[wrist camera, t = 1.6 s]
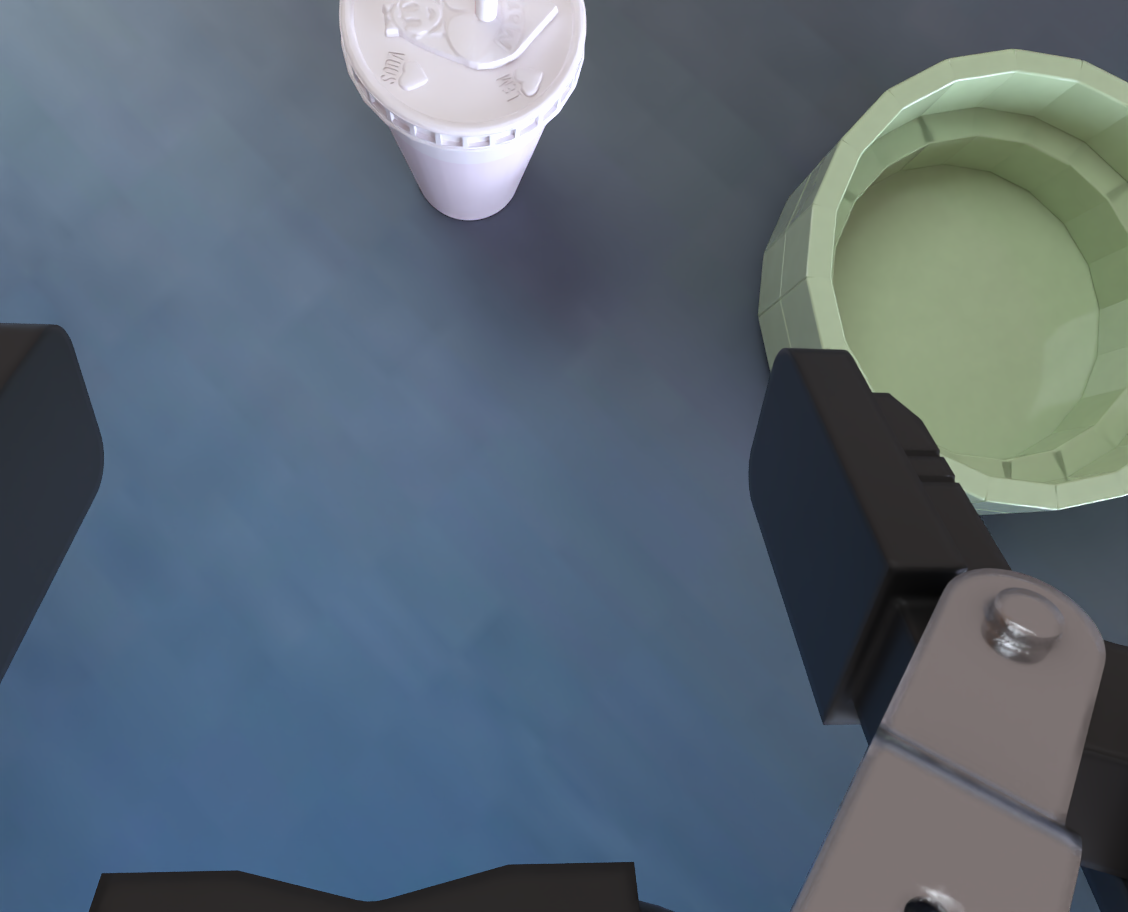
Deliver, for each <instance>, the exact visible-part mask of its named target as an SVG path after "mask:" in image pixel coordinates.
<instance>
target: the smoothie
mask: <svg viewBox="0 0 1128 912" xmlns="http://www.w3.org/2000/svg"><path fill="white" fill-rule="evenodd" d="M339 23H340V31H341V45H342V49H343V53H344V57H345V61H346V66H347V70H348V73H349V75H350V77H351V79H352V81H353V82H354V84H355V86H356V88H357V90H358V91H359V93H360V95H361V97H362V99H363V100H364V102H365V103H366V104H367V105H368V106H369V107H370V108H371V109H372V110H373V111H374V112H375V113H376V114H377V115H378V116H379V117H380V118H381V119H382V120H383V121H384V122H385V123H386V124H387V125H388V126H389V128H390V130H391V132H392V134H393V136H394V138H395V140H396V142H397V144H398V146H399V148H400V150H401V152H402V154H403V156H404V158H405V160H406V162H407V164H408V166H409V168H410V170H411V172H412V174H413V176H414V177H415V179H416V181H417V183H418V185H419V187H420V189H421V191H422V193H423V195H424V196H425V198H426V199H427V201H428V202H429V203H430V204H431V205H432V206H433V207H434V208H435V209H437V210H438V211H440V212H441V213H443V214H445V215H447V216H449V217H452V218H456V219H460V220H479V219H483V218H486V217H489V216H491V215H493V214H495V213H497V212H498V211H500V210H501V209H502V208H504V207H505V206H506V205H507V204H508V203H509V201H510V200H511V199H512V197H513V195H514V193H515V191H516V189H517V187H518V185H519V182H520V180H521V178H522V176H523V174H524V171H525V169H526V167H527V165H528V163H529V160H530V158H531V156H532V154H533V152H534V149H535V147H536V145H537V143H538V141H539V138H540V136H541V134H542V132H543V130H544V127H545V125H546V124H547V123H548V122H549V121H550V120H551V119H552V118H554V117H555V116H556V115H557V114H558V113H559V112H560V111H561V109H562V107H563V106H564V104H565V103H566V101H567V100H568V98H569V96H570V95H571V93H572V92H573V90H574V89H575V87H576V84H577V80H578V77H579V74H580V70H581V67H582V63H583V60H584V45H585V38H586V10H585V5H584V0H340V6H339Z"/></svg>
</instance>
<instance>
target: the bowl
mask: <svg viewBox="0 0 1128 912" xmlns="http://www.w3.org/2000/svg"><path fill="white" fill-rule="evenodd" d="M758 316H759V323H760V327H761V332H762V336H763V341H764V345H765V350H766V354H767V359H768V363H769V368H770V372H771V370H772V366H773V363H774V360H775V357H776V355H777V354H778V352H779V351H780V350H781V349H782V348H809V349H844V350H847V351H848V352H849V353H850V354H851V355H852V357H853V358H854V360H855V362H856V364H857V366H858V368H859V369H860V371H861V373H862V375H863V377H864V378H865V380H866V382H867V384H868V386H869V388H870V389H871V391H872V392H878V393H890V394H891V395H892V396H893V397H895V398H896V399H897V400H898V401H899V402H901V403H902V404H903V405H904V406H905V407H907V408H908V409H909V410H910V411H912V412H913V413H914V414H915V415H916V416H918V417H919V418H920V419H921V420H922V421H923V423H924V424H925V426H926V428H927V429H928V431H929V433H930V434H931V436H932V438H933V439H934V441H935V443H936V444H937V446H938V448H939V449H940V457H944V458H945V460H946V461H947V463H948V465H949V466H950V468H951V470H952V471H953V473H954V475H955V482H956V483H960V485H961V486H962V488H963V490H964V491H965V493H966V495H967V496H968V498H969V500H970V501H971V503H972V505H973V506H974V508H975V510H976V511H977V513H978V515H989V514H1005V513H1023V512H1039V511H1055V510H1062V509H1067V508H1071V507H1076V506H1081V505H1086V504H1090V503H1095V502H1100V501H1104V500H1109V499H1114V498H1119V497H1123V496H1125V495H1128V82H1126V81H1124V80H1122V79H1120V78H1118V77H1116V76H1114V75H1112V74H1110V73H1108V72H1106V71H1104V70H1102V69H1100V68H1098V67H1096V66H1094V65H1092V64H1090V63H1088V62H1086V61H1081V60H1080V59H1074V58H1068V57H1062V56H1056V55H1050V54H1044V53H1038V52H1032V51H1026V50H1020V49H1007V50H1001V51H994V52H987V53H981V54H974V55H967V56H961V57H954V58H948V59H946V60H943V61H941V62H939V63H937V64H935V65H933V66H932V67H930V68H928V69H926V70H924V71H922V72H920V73H918V74H916V75H914V76H912V77H911V78H909V79H907V80H905V81H903V82H901V83H899V84H897V85H895V86H893V87H891V88H889V89H888V90H887V91H885V92H884V93H883V94H882V95H881V96H880V98H879V99H878V100H877V101H876V102H875V103H874V104H873V105H872V106H871V107H870V108H869V109H868V110H867V111H866V113H865V114H864V115H863V116H862V117H861V118H860V119H859V120H858V121H857V122H856V123H855V124H854V125H853V127H852V128H851V129H850V130H849V131H848V132H847V133H846V134H845V135H844V136H843V137H842V138H841V139H840V141H839V142H838V143H837V144H836V145H835V146H834V147H833V148H832V150H831V151H830V152H829V153H828V154H827V155H826V156H825V157H824V159H823V160H822V161H821V162H820V163H819V164H818V165H817V166H816V167H815V169H814V170H813V171H812V172H811V173H810V174H809V175H808V176H807V178H806V179H805V180H804V181H803V182H802V183H801V184H800V185H799V187H798V188H797V189H796V190H795V191H794V192H793V193H792V194H791V196H790V197H789V198H788V200H787V202H786V204H785V207H784V209H783V211H782V213H781V216H780V218H779V220H778V222H777V225H776V227H775V229H774V231H773V234H772V236H771V238H770V240H769V243H768V245H767V247H766V249H765V252H764V255H763V266H762V276H761V287H760V298H759V308H758Z"/></svg>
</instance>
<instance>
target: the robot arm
mask: <svg viewBox="0 0 1128 912" xmlns="http://www.w3.org/2000/svg"><path fill="white" fill-rule="evenodd" d="M103 466H104V450H103V442H102V437H101V434H100V430H99V427H98V424H97V421H96V418H95V414H94V411H93V408H92V405H91V402H90V398H89V395H88V392H87V389H86V386H85V382H84V379H83V376H82V373H81V370H80V366H79V363H78V360H77V357H76V354H75V350H74V347H73V344H72V342H71V339H70V338H69V336H68V334H67V333H66V331H65V330H64V329H63V328H62V327H60V326H58V325H51V324H17V323H0V683H1V681H2V679H3V677H4V675H5V673H6V671H7V669H8V667H9V665H10V663H11V661H12V659H13V657H14V655H15V653H16V651H17V649H18V647H19V645H20V643H21V642H22V640H23V638H24V636H25V634H26V632H27V630H28V628H29V626H30V624H31V622H32V620H33V618H34V616H35V614H36V612H37V610H38V608H39V606H40V604H41V602H42V600H43V598H44V596H45V594H46V592H47V590H48V588H49V586H50V584H51V582H52V580H53V578H54V576H55V575H56V573H57V571H58V569H59V567H60V565H61V563H62V561H63V559H64V557H65V555H66V553H67V551H68V549H69V547H70V545H71V543H72V541H73V539H74V537H75V535H76V533H77V531H78V529H79V527H80V525H81V523H82V521H83V519H84V517H85V515H86V513H87V511H88V509H89V507H90V506H91V504H92V502H93V500H94V498H95V496H96V494H97V491H98V489H99V486H100V483H101V479H102V475H103ZM749 490H750V497H751V501H752V505H753V508H754V511H755V514H756V517H757V520H758V523H759V526H760V529H761V533H762V536H763V539H764V542H765V545H766V548H767V551H768V554H769V557H770V561H771V564H772V567H773V570H774V573H775V576H776V579H777V582H778V585H779V589H780V592H781V595H782V598H783V601H784V604H785V607H786V610H787V613H788V617H789V620H790V623H791V626H792V629H793V632H794V635H795V638H796V641H797V645H798V648H799V651H800V654H801V657H802V660H803V663H804V666H805V669H806V672H807V676H808V679H809V682H810V685H811V688H812V691H813V694H814V697H815V700H816V704H817V707H818V710H819V713H820V716H821V719H822V722H823V725H861V726H862V729H863V731H864V734H865V737H866V740H867V742H868V745H869V746H868V748H867V750H866V752H865V754H864V756H863V758H862V760H861V762H860V765H859V767H858V769H857V771H856V773H855V775H854V777H853V779H852V781H851V783H850V786H849V788H848V790H847V792H846V794H845V796H844V798H843V800H842V802H841V804H840V807H839V809H838V811H837V813H836V815H835V817H834V819H833V821H832V823H831V826H830V828H829V830H828V832H827V834H826V836H825V838H824V840H823V842H822V844H821V847H820V849H819V851H818V853H817V855H816V857H815V859H814V861H813V863H812V865H811V868H810V870H809V872H808V874H807V876H806V878H805V880H804V882H803V884H802V886H801V889H800V891H799V893H798V895H797V897H796V899H795V901H794V903H793V905H792V907H791V909H790V912H1069V910H1070V906H1071V902H1072V897H1073V893H1074V888H1075V884H1076V880H1077V875H1078V871H1079V866H1081V868H1082V870H1083V873H1084V875H1085V877H1086V879H1087V882H1088V884H1089V886H1090V888H1091V891H1092V893H1093V895H1094V897H1095V900H1096V902H1097V904H1098V906H1099V909H1100V911H1101V912H1128V647H1127V646H1123V645H1119V644H1115V643H1112V642H1108V641H1105V640H1103V639H1102V636H1101V634H1100V632H1099V630H1098V628H1097V627H1096V625H1095V623H1094V622H1093V621H1092V619H1091V618H1090V617H1089V616H1088V615H1087V613H1086V612H1085V611H1084V610H1083V609H1082V608H1081V607H1080V606H1079V605H1078V604H1076V603H1075V602H1074V601H1073V600H1072V599H1070V598H1069V597H1068V596H1066V595H1065V594H1064V593H1062V592H1060V591H1059V590H1057V589H1056V588H1054V587H1052V586H1051V585H1049V584H1046V583H1044V582H1042V581H1040V580H1038V579H1036V578H1033V577H1031V576H1028V575H1025V574H1022V573H1018V572H1014V571H1012V570H1011V568H1010V567H1009V565H1008V563H1007V562H1006V560H1005V558H1004V557H1003V555H1002V553H1001V552H1000V550H999V548H998V547H997V545H996V543H995V542H994V540H993V538H992V537H991V535H990V533H989V532H988V530H987V528H986V527H985V525H984V523H983V521H982V520H981V518H980V516H979V515H978V513H977V511H976V510H975V508H974V506H973V505H972V503H971V501H970V500H969V498H968V496H967V495H966V493H965V491H964V490H963V488H962V486H961V485H960V483H956V482H955V475H954V473H953V471H952V470H951V468H950V466H949V465H948V463H947V461H946V460H945V458H944V457H940V449H939V448H938V446H937V444H936V443H935V441H934V439H933V438H932V436H931V434H930V433H929V431H928V429H927V428H926V426H925V424H924V423H923V421H922V420H921V419H920V418H919V417H918V416H916V415H915V414H914V413H913V412H912V411H910V410H909V409H908V408H907V407H905V406H904V405H903V404H902V403H901V402H899V401H898V400H897V399H896V398H895V397H893V396H892V395H891V394H890V393H878V392H872V391H871V389H870V388H869V386H868V384H867V382H866V380H865V378H864V377H863V375H862V373H861V371H860V369H859V368H858V366H857V364H856V362H855V360H854V358H853V357H852V355H851V354H850V353H849V352H848V351H847V350H844V349H809V348H782V349H781V350H780V351H779V352H778V354H777V355H776V357H775V360H774V363H773V366H772V370H771V374H770V378H769V382H768V385H767V389H766V393H765V397H764V401H763V405H762V409H761V413H760V417H759V421H758V425H757V429H756V433H755V437H754V441H753V444H752V448H751V453H750V460H749ZM89 912H673V911H671V910H668V909H666V908H663V907H661V906H658V905H654V904H650V903H646V902H643V901H639V900H638V892H637V883H636V875H635V867H634V862H612V863H565V864H519V865H505V866H502V867H498V868H495V869H491V870H488V871H484V872H481V873H477V874H474V875H470V876H467V877H463V878H460V879H456V880H453V881H449V882H445V883H442V884H438V885H435V886H431V887H428V888H424V889H421V890H417V891H414V892H410V893H407V894H403V895H400V896H396V897H393V898H389V899H385V900H380V901H370V902H366V901H359V900H354V899H350V898H346V897H342V896H338V895H334V894H330V893H326V892H322V891H318V890H314V889H310V888H306V887H302V886H298V885H294V884H290V883H286V882H282V881H278V880H274V879H270V878H266V877H262V876H258V875H254V874H249V873H245V872H241V871H193V872H147V873H102V874H101V877H100V880H99V883H98V886H97V889H96V892H95V895H94V898H93V901H92V904H91V907H90V910H89Z"/></svg>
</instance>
